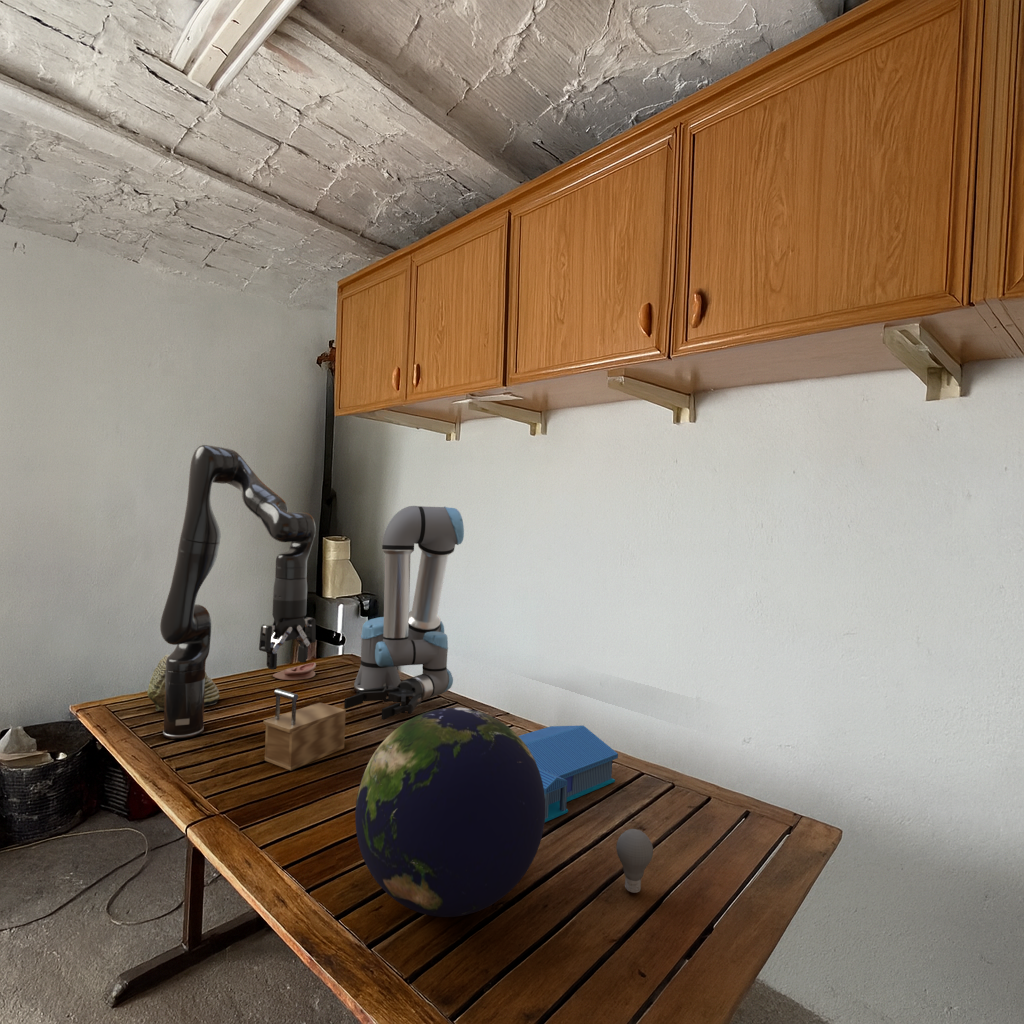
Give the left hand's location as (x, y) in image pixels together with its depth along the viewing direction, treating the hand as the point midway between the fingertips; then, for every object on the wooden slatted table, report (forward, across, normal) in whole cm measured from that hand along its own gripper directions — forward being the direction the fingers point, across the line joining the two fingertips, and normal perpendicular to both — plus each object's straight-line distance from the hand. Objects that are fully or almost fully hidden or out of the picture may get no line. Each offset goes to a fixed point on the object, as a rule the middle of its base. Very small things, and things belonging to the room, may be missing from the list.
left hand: (287, 665), depth 149 cm
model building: (+23, +22, -54) cm, 63 cm away
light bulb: (+23, +1, -86) cm, 89 cm away
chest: (+23, +6, 0) cm, 24 cm away
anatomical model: (+23, +48, +55) cm, 77 cm away
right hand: (+17, +25, 0) cm, 30 cm away
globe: (+23, -18, -62) cm, 69 cm away
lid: (+14, +6, 0) cm, 15 cm away
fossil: (+23, +8, +54) cm, 60 cm away
